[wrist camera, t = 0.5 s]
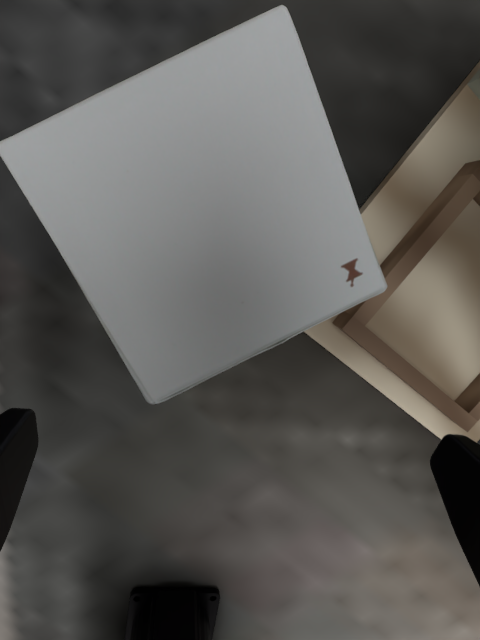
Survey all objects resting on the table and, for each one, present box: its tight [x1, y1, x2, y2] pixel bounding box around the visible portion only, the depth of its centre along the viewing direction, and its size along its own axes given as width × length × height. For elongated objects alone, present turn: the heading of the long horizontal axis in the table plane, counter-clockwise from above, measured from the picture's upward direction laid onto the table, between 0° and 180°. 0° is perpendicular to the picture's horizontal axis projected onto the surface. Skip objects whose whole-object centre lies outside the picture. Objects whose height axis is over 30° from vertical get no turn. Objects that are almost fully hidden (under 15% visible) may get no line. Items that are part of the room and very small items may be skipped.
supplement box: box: [0, 5, 387, 404], centre depth 15 cm, size 7×7×13 cm
